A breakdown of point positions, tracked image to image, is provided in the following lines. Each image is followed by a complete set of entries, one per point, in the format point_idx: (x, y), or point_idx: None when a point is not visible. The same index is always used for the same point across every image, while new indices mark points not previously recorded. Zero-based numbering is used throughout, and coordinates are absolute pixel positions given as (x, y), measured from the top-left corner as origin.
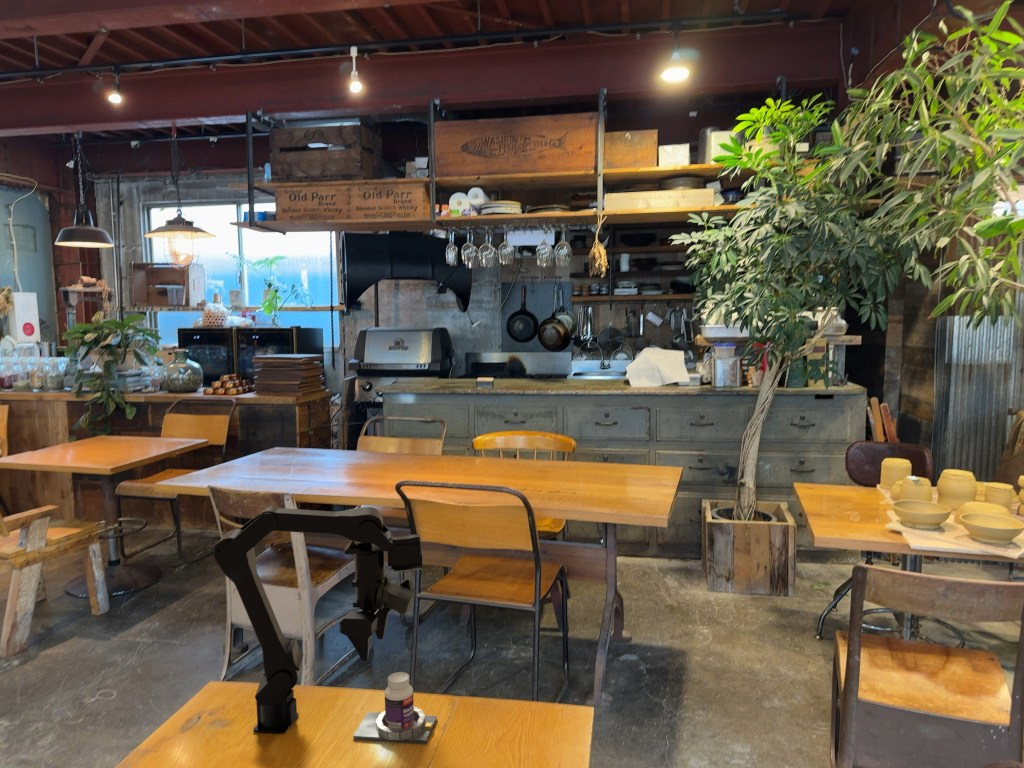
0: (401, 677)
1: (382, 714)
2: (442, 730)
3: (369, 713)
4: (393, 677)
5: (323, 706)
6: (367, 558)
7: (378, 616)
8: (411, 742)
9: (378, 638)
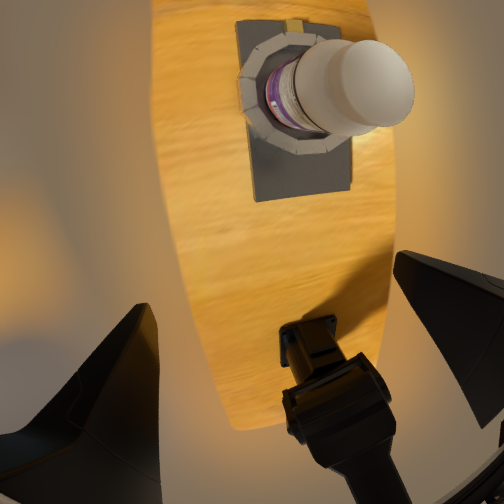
0: (383, 69)
1: (298, 146)
2: (275, 5)
3: (262, 194)
4: (390, 102)
5: (238, 309)
6: None
7: (131, 450)
8: None
9: (156, 324)
